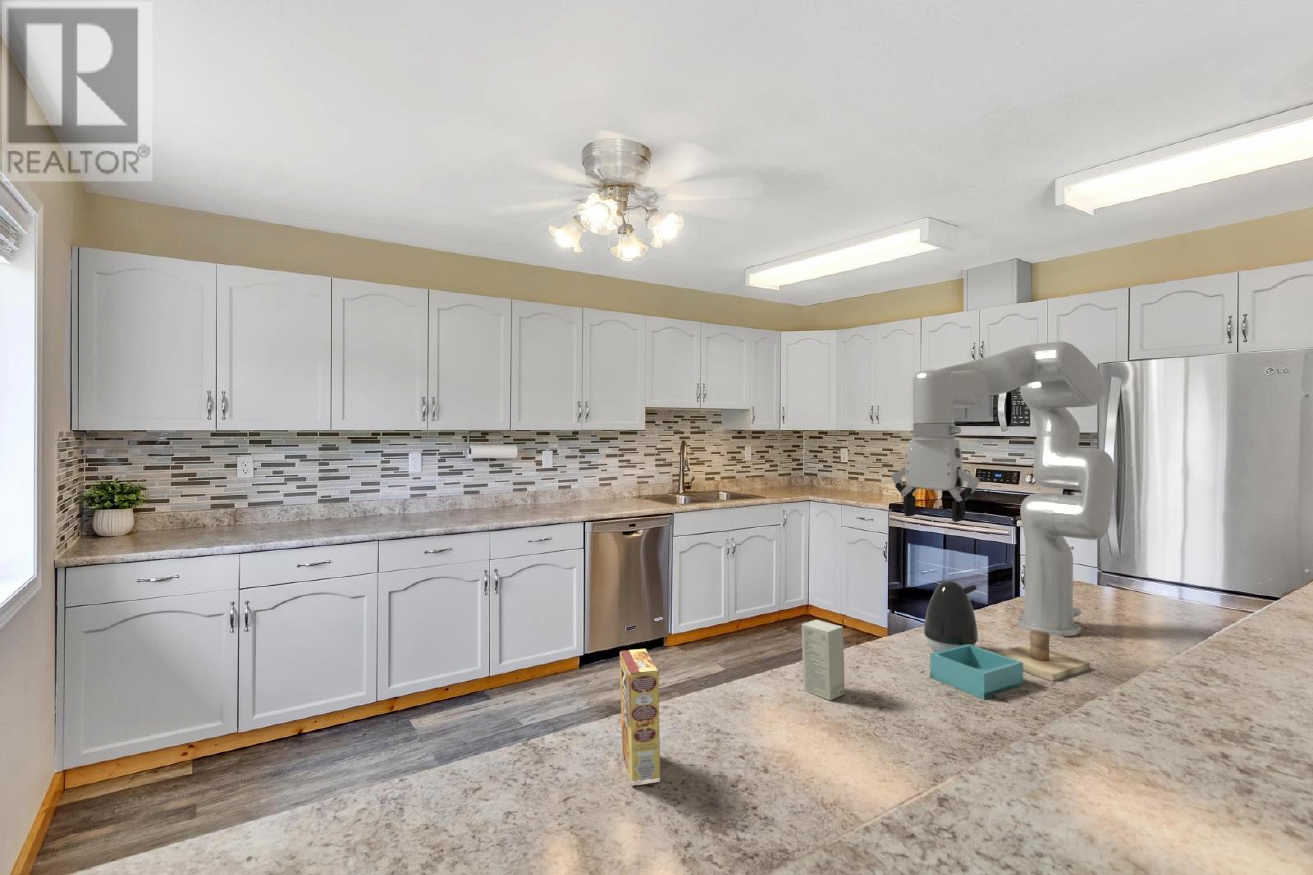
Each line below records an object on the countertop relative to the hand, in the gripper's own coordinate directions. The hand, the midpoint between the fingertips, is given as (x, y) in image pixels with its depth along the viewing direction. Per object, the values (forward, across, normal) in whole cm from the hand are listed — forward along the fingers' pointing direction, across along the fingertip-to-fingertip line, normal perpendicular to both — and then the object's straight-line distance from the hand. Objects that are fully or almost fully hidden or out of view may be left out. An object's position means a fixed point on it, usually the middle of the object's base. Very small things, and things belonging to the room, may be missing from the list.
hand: (933, 518), depth 125 cm
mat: (+29, -14, -14) cm, 35 cm away
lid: (+29, -14, -14) cm, 35 cm away
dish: (+29, -10, +3) cm, 31 cm away
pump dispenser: (+29, 0, -8) cm, 31 cm away
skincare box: (+29, +6, +28) cm, 41 cm away
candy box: (+29, +8, +69) cm, 75 cm away
